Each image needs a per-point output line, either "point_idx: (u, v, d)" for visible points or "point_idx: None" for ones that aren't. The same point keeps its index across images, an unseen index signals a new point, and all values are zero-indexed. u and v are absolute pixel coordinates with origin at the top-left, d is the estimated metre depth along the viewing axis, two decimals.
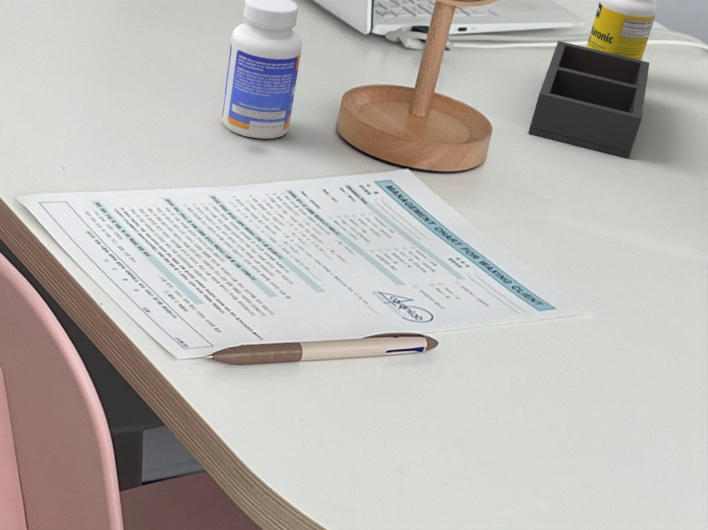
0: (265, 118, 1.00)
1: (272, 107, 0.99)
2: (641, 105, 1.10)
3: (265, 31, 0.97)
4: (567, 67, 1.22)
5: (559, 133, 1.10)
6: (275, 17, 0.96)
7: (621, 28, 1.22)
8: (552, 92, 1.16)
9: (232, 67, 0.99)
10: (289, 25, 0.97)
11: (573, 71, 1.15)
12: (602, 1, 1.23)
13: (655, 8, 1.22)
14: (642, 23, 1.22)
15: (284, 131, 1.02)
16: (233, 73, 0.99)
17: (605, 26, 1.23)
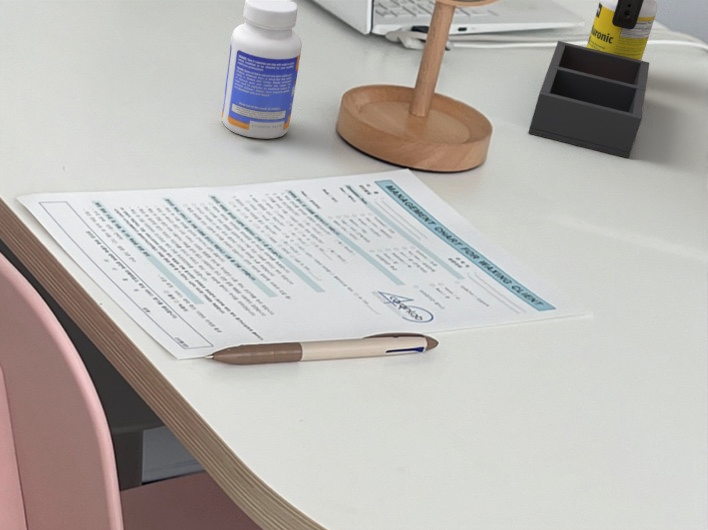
0: (265, 118, 1.00)
1: (272, 107, 0.99)
2: (641, 105, 1.10)
3: (265, 31, 0.97)
4: (567, 67, 1.22)
5: (559, 133, 1.10)
6: (275, 17, 0.96)
7: (621, 28, 1.22)
8: (552, 92, 1.16)
9: (231, 67, 0.99)
10: (289, 25, 0.97)
11: (573, 71, 1.15)
12: (602, 1, 1.23)
13: (655, 8, 1.22)
14: (642, 23, 1.22)
15: (284, 131, 1.02)
16: (233, 73, 0.99)
17: (605, 26, 1.23)
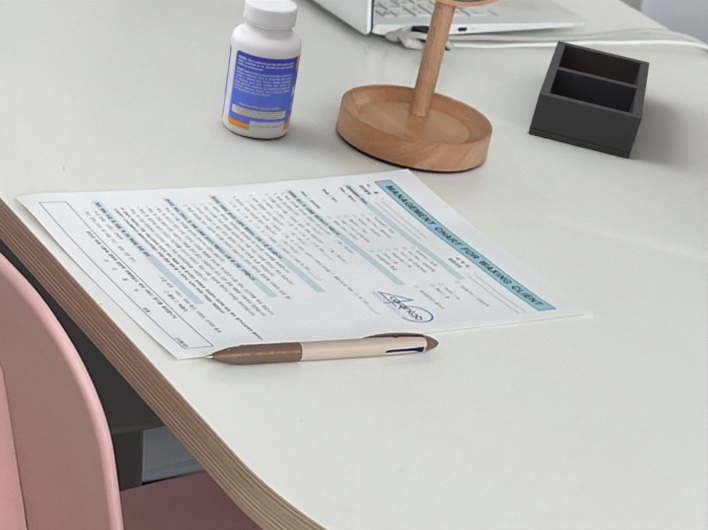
0: (265, 118, 1.00)
1: (272, 107, 0.99)
2: (641, 105, 1.10)
3: (265, 31, 0.97)
4: (567, 67, 1.22)
5: (559, 133, 1.10)
6: (275, 17, 0.96)
7: None
8: (552, 92, 1.16)
9: (232, 67, 0.99)
10: (289, 25, 0.97)
11: (573, 71, 1.15)
12: None
13: None
14: None
15: (284, 131, 1.02)
16: (233, 73, 0.99)
17: None
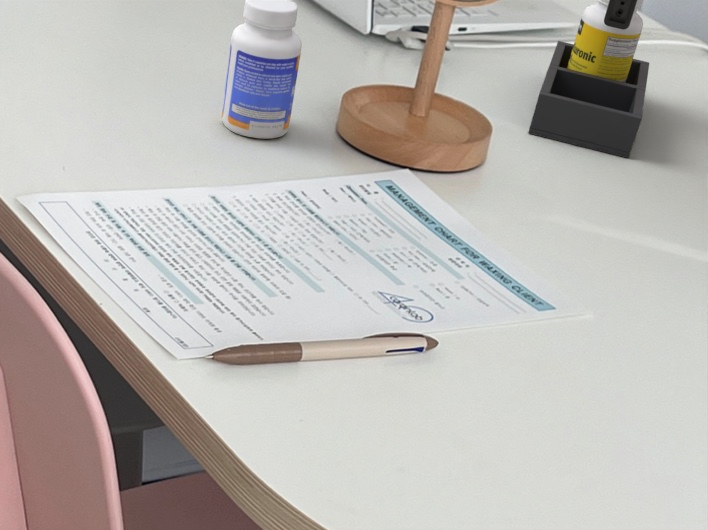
0: (265, 118, 1.00)
1: (272, 107, 0.99)
2: (641, 105, 1.10)
3: (265, 31, 0.97)
4: None
5: (559, 133, 1.10)
6: (275, 17, 0.96)
7: (604, 47, 1.14)
8: (552, 92, 1.16)
9: (231, 67, 0.99)
10: (289, 25, 0.97)
11: (573, 71, 1.15)
12: (584, 17, 1.15)
13: (641, 25, 1.14)
14: (626, 41, 1.14)
15: (284, 131, 1.02)
16: (233, 73, 0.99)
17: (587, 44, 1.15)
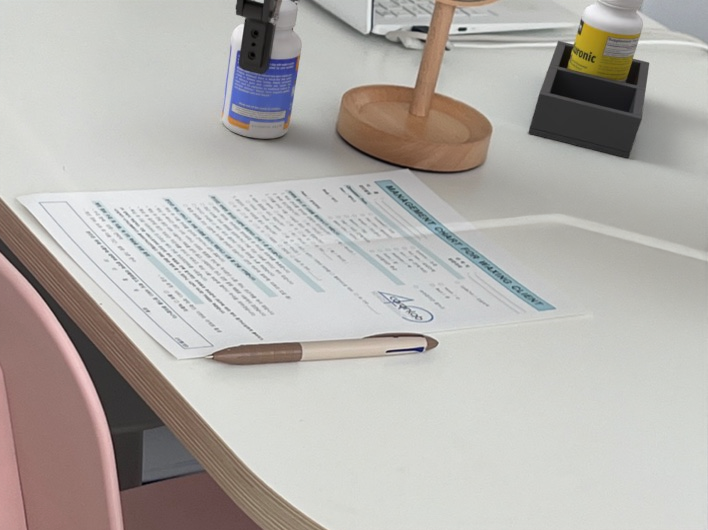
0: (265, 118, 1.00)
1: (272, 107, 0.99)
2: (641, 105, 1.10)
3: None
4: None
5: (559, 133, 1.10)
6: None
7: (604, 47, 1.14)
8: (552, 92, 1.16)
9: (231, 67, 0.99)
10: (289, 25, 0.97)
11: (573, 71, 1.15)
12: (584, 17, 1.15)
13: (641, 25, 1.14)
14: (626, 41, 1.14)
15: (284, 131, 1.02)
16: (233, 73, 0.99)
17: (587, 44, 1.15)
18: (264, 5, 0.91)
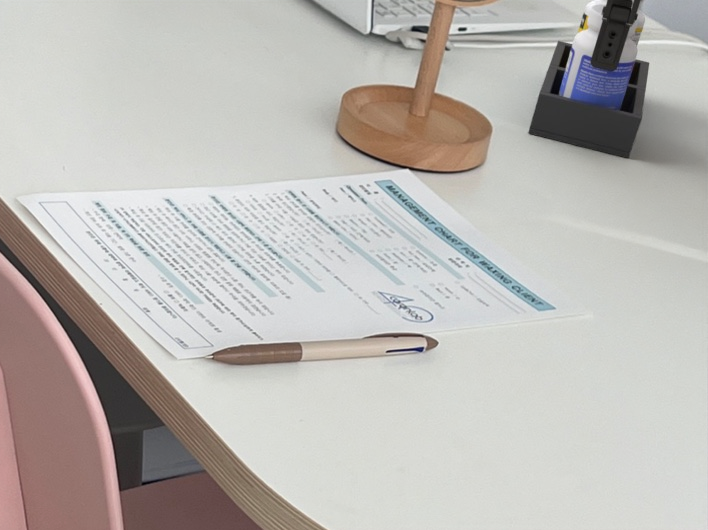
0: None
1: (609, 106, 1.10)
2: (641, 105, 1.10)
3: None
4: None
5: (559, 133, 1.10)
6: None
7: None
8: (552, 92, 1.16)
9: (574, 70, 1.09)
10: (632, 32, 1.07)
11: None
12: (586, 11, 1.15)
13: (643, 19, 1.15)
14: None
15: None
16: (575, 75, 1.09)
17: None
18: (633, 6, 1.00)
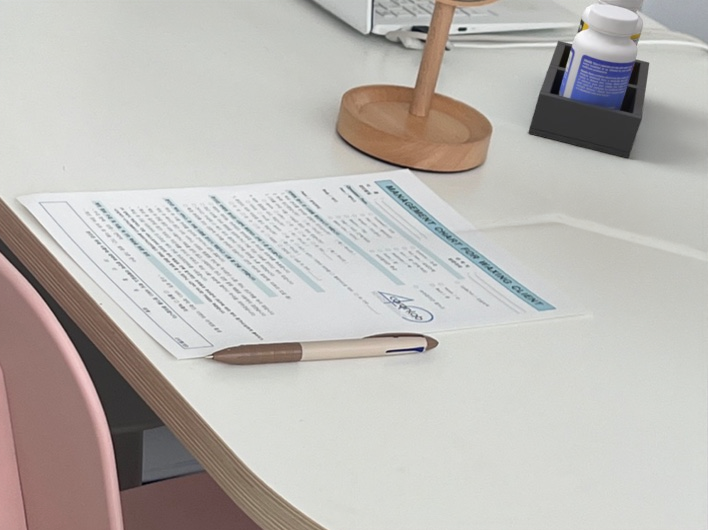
0: None
1: (609, 106, 1.10)
2: (641, 105, 1.10)
3: (611, 37, 1.07)
4: None
5: (559, 133, 1.10)
6: (622, 25, 1.06)
7: None
8: (552, 92, 1.16)
9: (574, 70, 1.09)
10: (632, 32, 1.07)
11: None
12: (584, 17, 1.15)
13: (641, 25, 1.14)
14: None
15: None
16: (575, 75, 1.09)
17: None
18: None
